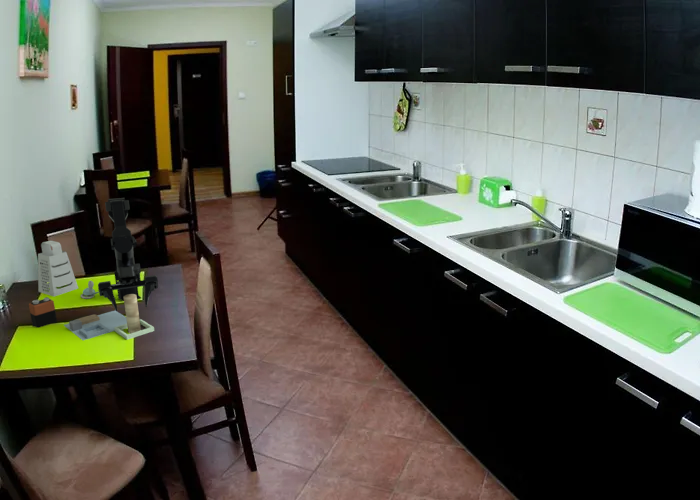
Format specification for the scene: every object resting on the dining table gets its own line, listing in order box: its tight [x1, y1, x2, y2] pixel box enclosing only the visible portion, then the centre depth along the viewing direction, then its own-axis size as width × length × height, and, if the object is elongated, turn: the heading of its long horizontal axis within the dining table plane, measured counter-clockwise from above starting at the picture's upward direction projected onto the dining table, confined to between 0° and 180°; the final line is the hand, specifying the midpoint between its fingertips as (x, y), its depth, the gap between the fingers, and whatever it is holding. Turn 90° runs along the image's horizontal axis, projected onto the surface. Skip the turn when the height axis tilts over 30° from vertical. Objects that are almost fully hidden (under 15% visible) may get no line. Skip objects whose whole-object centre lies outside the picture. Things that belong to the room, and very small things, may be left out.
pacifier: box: [80, 280, 99, 300], centre depth 228 cm, size 7×6×6 cm
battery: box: [28, 297, 58, 328], centre depth 201 cm, size 4×7×10 cm, turn 140°
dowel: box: [123, 294, 142, 334], centre depth 193 cm, size 4×4×13 cm
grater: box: [37, 240, 79, 297], centre depth 233 cm, size 10×10×20 cm
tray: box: [114, 318, 155, 340], centre depth 195 cm, size 9×9×2 cm
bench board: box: [63, 309, 127, 341], centre depth 200 cm, size 18×17×4 cm
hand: (131, 308), depth 194 cm, fingers open, 9 cm apart
